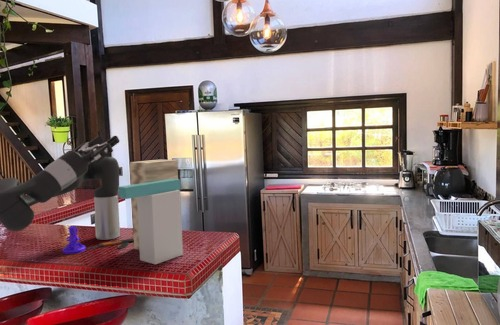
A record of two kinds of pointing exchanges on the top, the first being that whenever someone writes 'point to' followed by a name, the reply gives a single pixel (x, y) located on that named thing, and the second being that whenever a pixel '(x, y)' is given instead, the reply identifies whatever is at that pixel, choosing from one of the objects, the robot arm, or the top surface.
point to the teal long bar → (148, 188)
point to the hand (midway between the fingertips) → (109, 138)
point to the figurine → (73, 242)
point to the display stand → (149, 173)
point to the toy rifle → (123, 242)
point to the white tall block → (160, 226)
